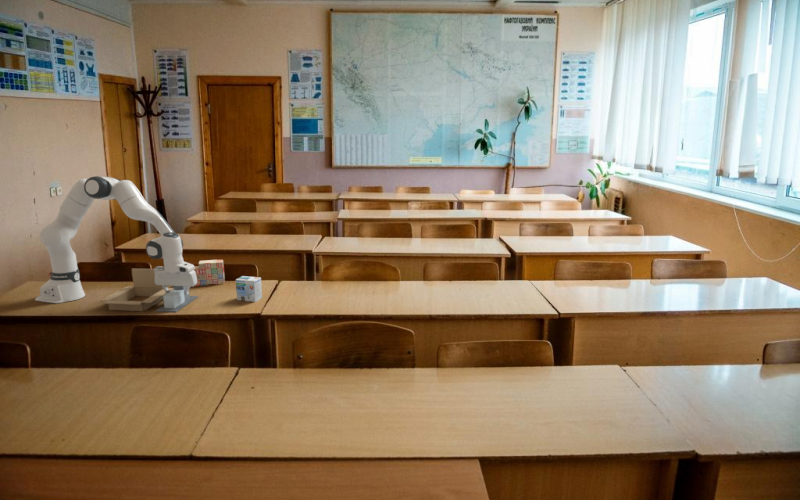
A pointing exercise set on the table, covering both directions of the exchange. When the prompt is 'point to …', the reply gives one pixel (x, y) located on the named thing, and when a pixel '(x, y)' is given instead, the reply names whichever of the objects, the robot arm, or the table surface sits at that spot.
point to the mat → (177, 306)
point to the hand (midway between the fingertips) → (177, 294)
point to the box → (175, 297)
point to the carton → (137, 292)
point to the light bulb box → (249, 288)
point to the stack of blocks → (210, 272)
